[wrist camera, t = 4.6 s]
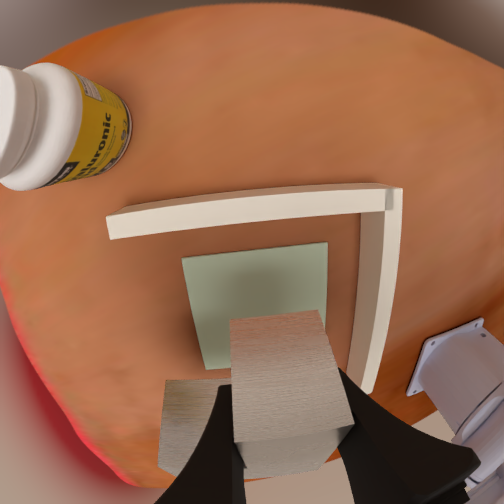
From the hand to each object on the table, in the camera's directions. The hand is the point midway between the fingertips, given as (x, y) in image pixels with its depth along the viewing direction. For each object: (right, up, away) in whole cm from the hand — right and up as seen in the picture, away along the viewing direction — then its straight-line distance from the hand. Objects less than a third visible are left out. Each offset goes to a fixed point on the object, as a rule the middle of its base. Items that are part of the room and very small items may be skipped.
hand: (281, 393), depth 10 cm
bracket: (-2, 0, +3) cm, 3 cm away
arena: (-1, +2, +8) cm, 8 cm away
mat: (-1, +2, +8) cm, 8 cm away
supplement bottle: (-11, +13, +3) cm, 17 cm away
